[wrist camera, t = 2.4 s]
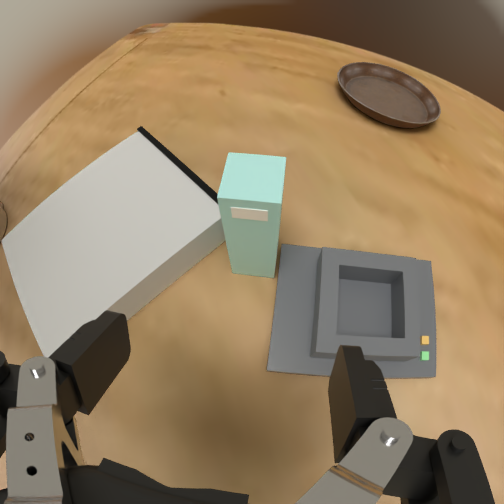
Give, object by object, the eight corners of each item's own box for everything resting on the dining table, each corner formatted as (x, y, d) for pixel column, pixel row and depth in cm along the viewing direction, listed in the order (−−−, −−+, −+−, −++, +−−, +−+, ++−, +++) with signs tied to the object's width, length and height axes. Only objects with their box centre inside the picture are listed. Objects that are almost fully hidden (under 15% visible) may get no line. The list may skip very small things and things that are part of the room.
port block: (266, 371, 26) (267, 366, 22) (281, 248, 31) (283, 227, 27) (430, 377, 24) (452, 372, 21) (426, 265, 30) (443, 247, 26)
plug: (232, 273, 30) (216, 198, 19) (239, 236, 32) (228, 151, 21) (274, 278, 30) (281, 204, 19) (278, 240, 31) (286, 156, 21)
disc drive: (238, 235, 32) (235, 207, 28) (74, 371, 26) (45, 363, 21) (152, 152, 38) (142, 125, 34) (22, 256, 32) (-1, 238, 28)
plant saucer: (374, 67, 48) (377, 54, 46) (449, 118, 42) (455, 105, 39) (312, 89, 44) (314, 74, 41) (401, 153, 37) (408, 137, 35)
